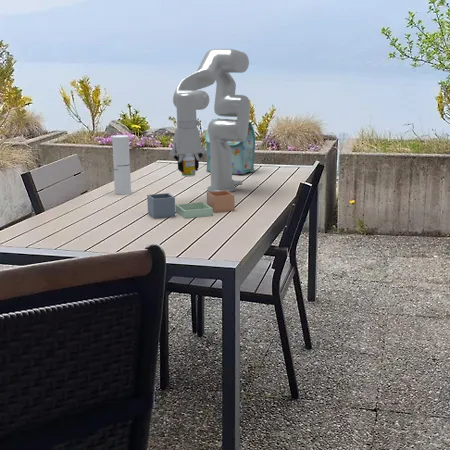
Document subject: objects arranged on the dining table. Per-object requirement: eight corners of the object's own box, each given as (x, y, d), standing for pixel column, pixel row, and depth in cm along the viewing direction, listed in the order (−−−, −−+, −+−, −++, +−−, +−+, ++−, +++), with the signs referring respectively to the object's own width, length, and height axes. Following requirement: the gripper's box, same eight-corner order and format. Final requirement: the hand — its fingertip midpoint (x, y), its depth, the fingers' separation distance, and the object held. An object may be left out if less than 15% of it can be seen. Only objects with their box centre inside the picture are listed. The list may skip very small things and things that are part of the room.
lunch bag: (202, 172, 345) (201, 119, 338) (219, 167, 358) (219, 116, 351) (241, 176, 333) (241, 121, 326) (257, 171, 347) (258, 118, 340)
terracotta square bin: (226, 207, 271) (226, 190, 269) (234, 212, 263) (234, 194, 261) (206, 209, 268) (206, 192, 266) (214, 214, 260) (214, 196, 258)
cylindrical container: (128, 194, 295) (125, 137, 288) (112, 194, 296) (109, 137, 290) (133, 191, 302) (131, 135, 295) (118, 190, 303) (115, 135, 297)
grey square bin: (169, 213, 262) (168, 193, 260) (175, 218, 255) (174, 197, 253) (147, 215, 259) (147, 194, 257) (153, 220, 252) (153, 199, 250)
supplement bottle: (181, 174, 271) (180, 150, 268) (195, 173, 271) (194, 149, 268) (182, 177, 265) (181, 152, 263) (195, 176, 266) (195, 152, 263)
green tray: (203, 210, 266) (202, 202, 265) (212, 217, 255) (212, 208, 254) (175, 213, 262) (175, 204, 261) (184, 220, 252) (184, 210, 251)
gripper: (204, 122, 269) (205, 167, 274) (162, 125, 263) (164, 170, 268) (210, 124, 262) (212, 170, 267) (168, 127, 256) (170, 174, 261)
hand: (188, 170), depth 268 cm, fingers closed on supplement bottle, 5 cm apart
